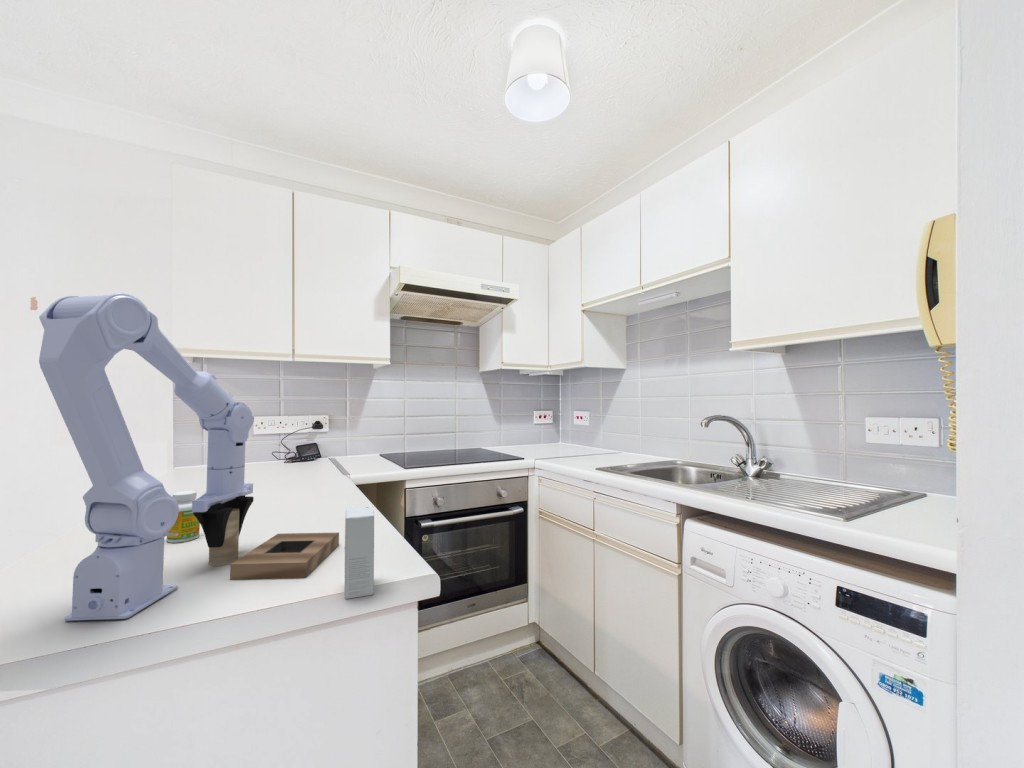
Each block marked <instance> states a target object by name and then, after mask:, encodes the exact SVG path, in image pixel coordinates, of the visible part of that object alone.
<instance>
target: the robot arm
mask: <svg viewBox="0 0 1024 768" xmlns="http://www.w3.org/2000/svg"><path fill="white" fill-rule="evenodd" d="M38 319H39V321H40V323H41V325H42V327H43V328H42V329H43V336H42V340H41V347H40V352H39V358H38V362H39V366H40V367H39V368H40V370H41V372H42V374H43V377H44V378H45V381H46V383H47V385H48V387H49V388H48V389H49V390H50V393H51V394H52V396H53V399H54V401H55V404H56V406H57V408H58V410H59V412H60V414H61V417H62V420H63V421H64V423H65V426H66V427H67V430H68V433H69V434H70V437H71V440H72V441H73V444H74V446H75V448H76V451H77V452H78V455H79V458H80V459H81V461H82V462H81V463H83V466H84V468H85V470H86V473H87V475H88V478H89V480H90V482H91V484H92V486H91V487H90V488H89V489H88V490H87V491H86V492H85V494H83V496H82V499H83V500H82V501H84V504H85V514H84V524H85V527H86V529H87V530H88V531H89V532H90V533H92V534H94V535H95V539H94V540H95V543H97V547H96V548H95V550H94V551H93V552H92V553H91V554H90V555H88V556H86V557H84V558H83V559H81V561H79V563H78V564H77V566H76V567H75V569H74V572H73V577H72V595H71V596H72V599H71V600H72V601H71V613H69V614H67V615H66V616H65V617H64V621H66V622H67V621H68V622H69V621H70V622H71V621H95V620H97V621H100V620H102V621H103V620H104V621H105V620H126V619H128V618H130V617H132V616H134V615H135V614H137V613H139V612H140V611H142V610H143V609H145V608H146V607H148V606H150V605H152V604H153V603H155V602H156V601H158V600H160V599H162V598H164V597H165V596H167V595H168V594H170V593H171V592H173V591H174V590H177V589H178V584H164V559H165V537H167V536H168V531H169V530H170V529H171V528H172V527H173V525H174V524H175V522H176V520H177V517H178V513H179V507H178V503H177V501H176V500H175V498H174V497H173V495H170V494H169V493H168V492H167V490H166V488H165V486H164V484H163V483H162V481H160V480H159V479H157V478H155V477H154V476H153V475H152V474H149V473H148V472H147V471H146V470H145V469H144V466H143V464H142V462H141V461H142V460H141V459H140V456H139V454H138V450H137V449H136V446H135V443H134V440H133V438H132V436H131V433H130V430H129V429H128V425H127V423H126V421H125V419H124V415H123V413H122V410H121V408H120V405H119V403H118V400H117V398H116V395H115V393H114V390H113V388H112V386H111V382H110V381H109V378H108V375H107V373H106V370H105V369H106V367H107V365H108V364H109V363H110V362H111V360H112V359H113V358H114V356H115V355H117V354H119V352H121V351H123V350H128V351H132V352H135V353H136V354H137V355H138V356H140V357H141V358H143V360H145V361H146V362H148V363H149V365H151V366H152V367H153V368H155V369H156V370H157V371H159V372H160V373H161V374H162V375H163V376H165V377H166V378H168V380H170V381H171V382H172V383H174V389H173V390H174V392H173V393H174V394H175V396H177V397H178V398H179V399H180V401H182V402H183V403H184V404H185V405H186V406H188V407H189V408H190V409H191V410H192V411H193V412H194V413H195V414H196V415H197V417H198V421H199V425H200V427H201V428H202V429H203V430H205V431H207V459H206V460H207V462H206V464H207V465H206V492H205V493H203V494H201V496H199V497H198V498H196V499H195V500H193V501H192V512H193V515H194V516H195V517H196V518H197V519H198V521H199V523H200V526H201V528H202V531H203V535H204V538H205V541H206V543H207V547H208V549H209V548H213V547H221V546H223V543H224V538H225V530H226V525H227V521H228V518H229V516H230V513H231V511H232V509H233V508H238V509H239V536H240V534H241V531H242V528H243V524H244V521H245V519H246V515H247V513H248V511H249V509H250V507H251V506H252V504H253V502H254V498H255V497H254V496H251V494H253V493H254V483H252V482H250V483H249V482H248V483H245V470H246V469H245V466H246V465H245V464H246V442H247V441H248V439H249V435H250V434H249V433H250V430H251V428H252V427H253V425H254V422H255V415H253V412H252V409H251V408H250V407H249V406H248V405H247V404H245V403H244V402H240V401H236V400H235V399H234V398H233V397H234V396H233V394H231V393H230V392H229V393H228V392H227V391H226V389H225V388H224V387H223V386H222V385H221V384H219V382H218V381H217V380H218V379H217V377H216V375H214V374H213V373H208V372H207V371H203V370H201V371H200V370H197V371H196V369H194V367H193V366H192V365H191V364H190V363H189V362H188V360H187V358H185V357H184V356H183V355H182V353H181V352H180V351H179V350H178V349H177V347H175V345H174V344H173V343H172V342H171V341H170V339H169V338H167V336H166V335H165V334H164V333H163V331H161V329H160V327H159V322H158V320H159V319H158V317H157V316H156V315H155V314H154V313H152V312H151V311H150V310H148V307H147V306H146V305H145V304H144V302H142V300H140V299H139V298H138V297H135V296H134V295H132V294H129V293H128V294H127V293H124V292H118V293H116V292H115V293H112V294H105V295H104V294H103V295H90V296H89V295H88V296H79V295H78V296H76V295H75V296H73V295H68V296H63V297H60V298H57V299H56V300H54V301H53V302H52V303H51V304H50V305H49V306H48V307H47V308H46V309H45V310H44V311H43V312H42V313H41V314H40V315H39V317H38ZM249 495H250V496H249Z"/></svg>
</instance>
